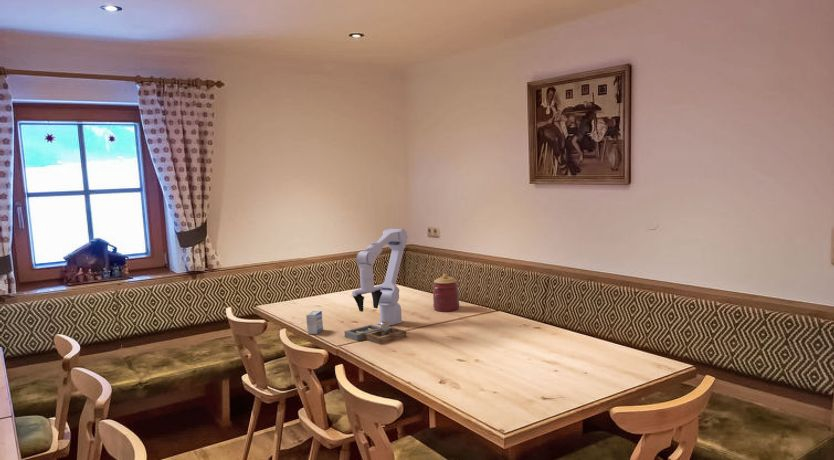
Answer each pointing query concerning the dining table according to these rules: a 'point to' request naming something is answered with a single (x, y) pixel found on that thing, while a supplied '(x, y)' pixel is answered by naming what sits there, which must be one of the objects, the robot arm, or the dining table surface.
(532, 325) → the dining table surface
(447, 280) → the canister
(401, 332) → the shallow wooden tray
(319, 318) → the medicine box
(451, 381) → the dining table surface
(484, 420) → the dining table surface
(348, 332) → the grey tray with pegs
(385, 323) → the cell
